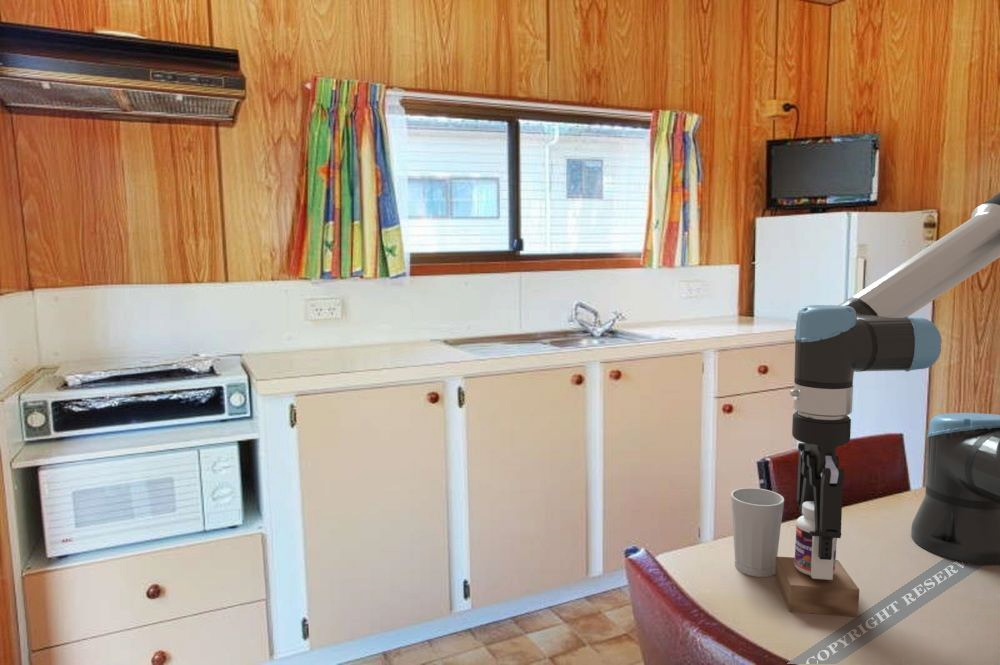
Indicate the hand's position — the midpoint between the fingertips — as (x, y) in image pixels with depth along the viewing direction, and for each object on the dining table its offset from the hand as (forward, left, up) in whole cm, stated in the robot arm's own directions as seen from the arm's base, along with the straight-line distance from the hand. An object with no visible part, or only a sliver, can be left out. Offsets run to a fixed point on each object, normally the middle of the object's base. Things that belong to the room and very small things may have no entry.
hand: (815, 567), depth 96 cm
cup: (+7, -9, -5) cm, 12 cm away
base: (0, 0, -5) cm, 5 cm away
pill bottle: (0, 0, -1) cm, 1 cm away
